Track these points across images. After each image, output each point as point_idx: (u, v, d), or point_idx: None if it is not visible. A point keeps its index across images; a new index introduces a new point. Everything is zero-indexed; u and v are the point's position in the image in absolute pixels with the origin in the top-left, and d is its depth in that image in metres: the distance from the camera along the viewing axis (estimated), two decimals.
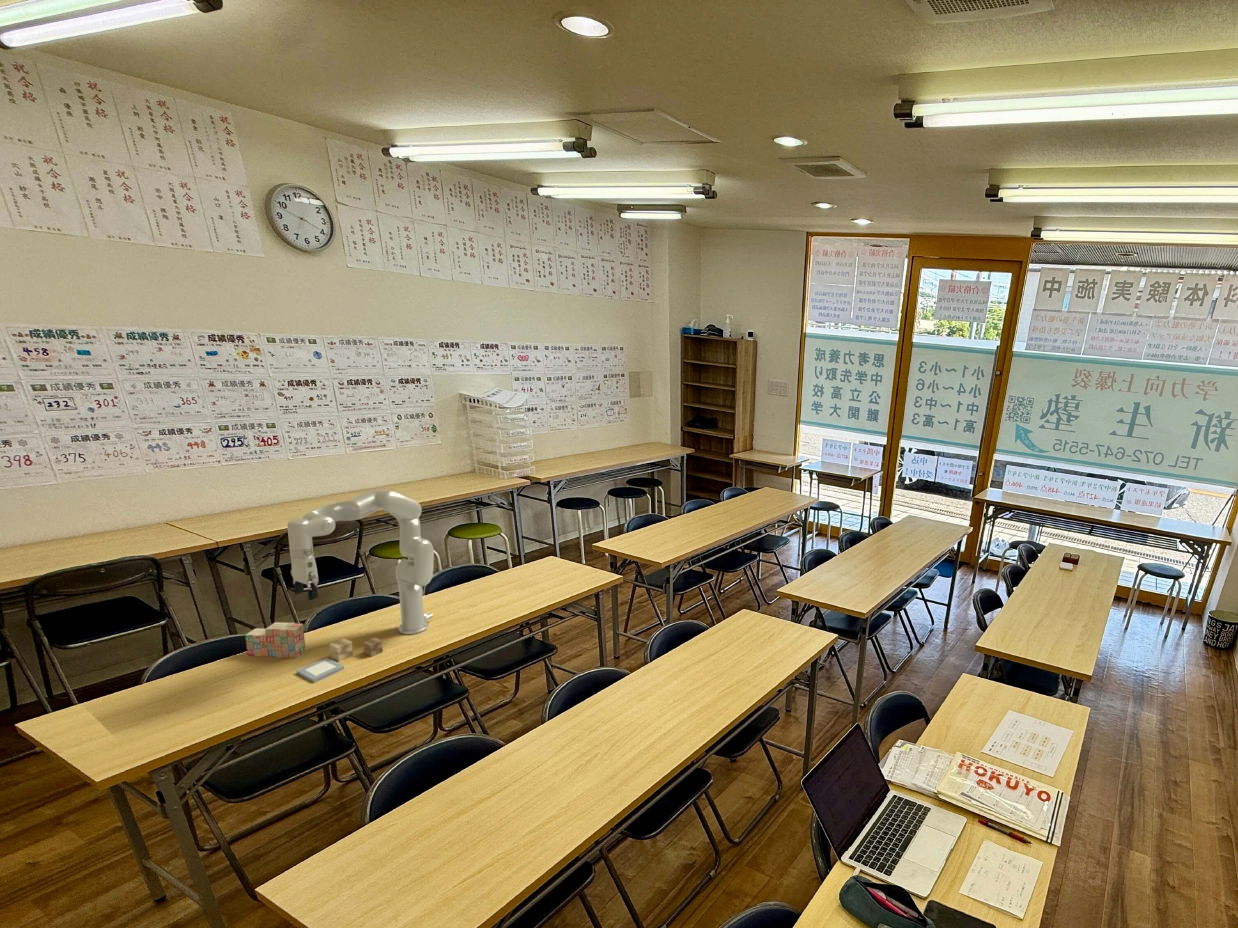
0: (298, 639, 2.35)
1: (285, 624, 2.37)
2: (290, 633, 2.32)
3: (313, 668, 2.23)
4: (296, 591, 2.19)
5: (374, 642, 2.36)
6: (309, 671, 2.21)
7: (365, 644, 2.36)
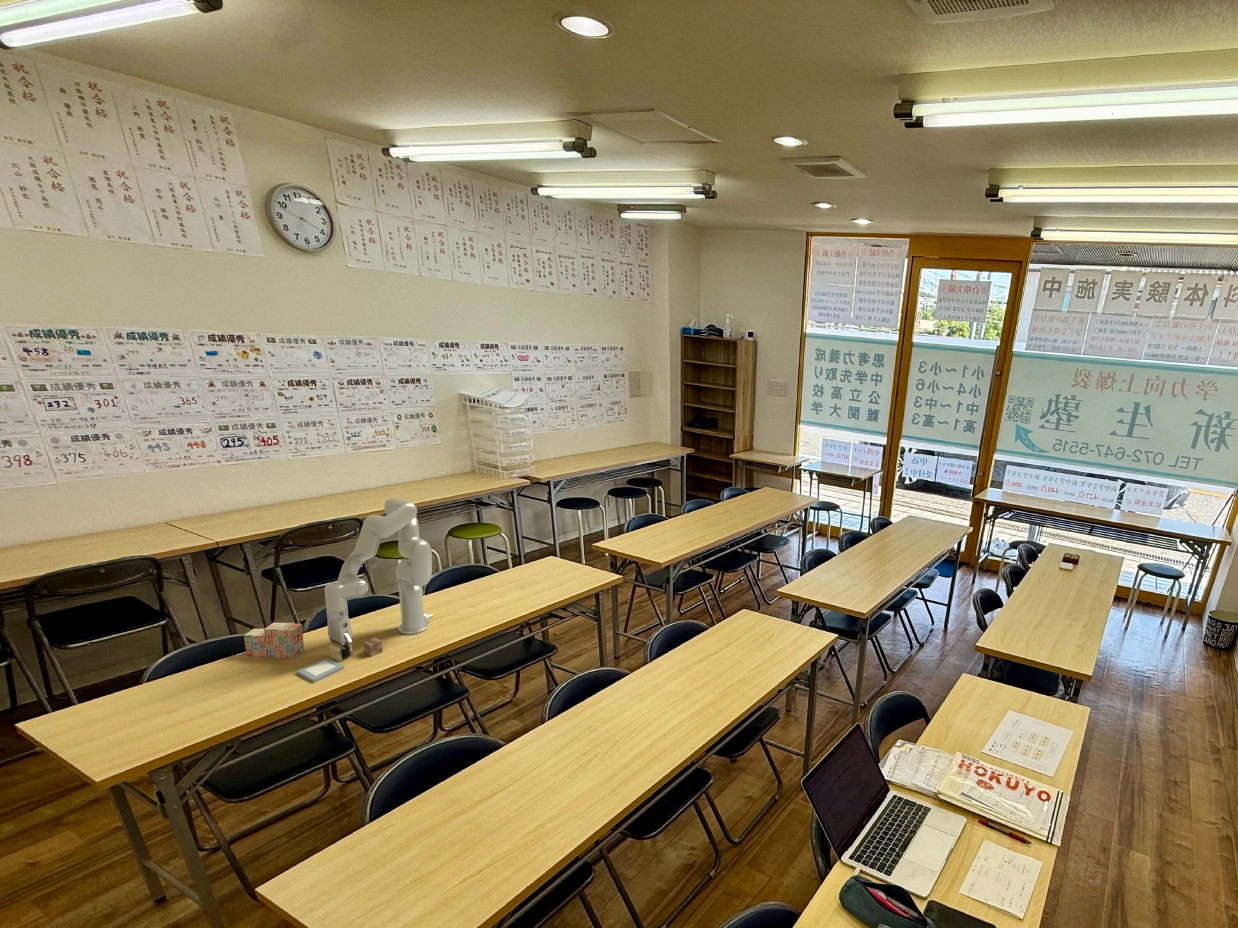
0: (297, 639, 2.35)
1: (284, 624, 2.37)
2: (288, 633, 2.32)
3: (313, 668, 2.23)
4: None
5: (374, 642, 2.36)
6: (309, 671, 2.21)
7: (365, 644, 2.36)
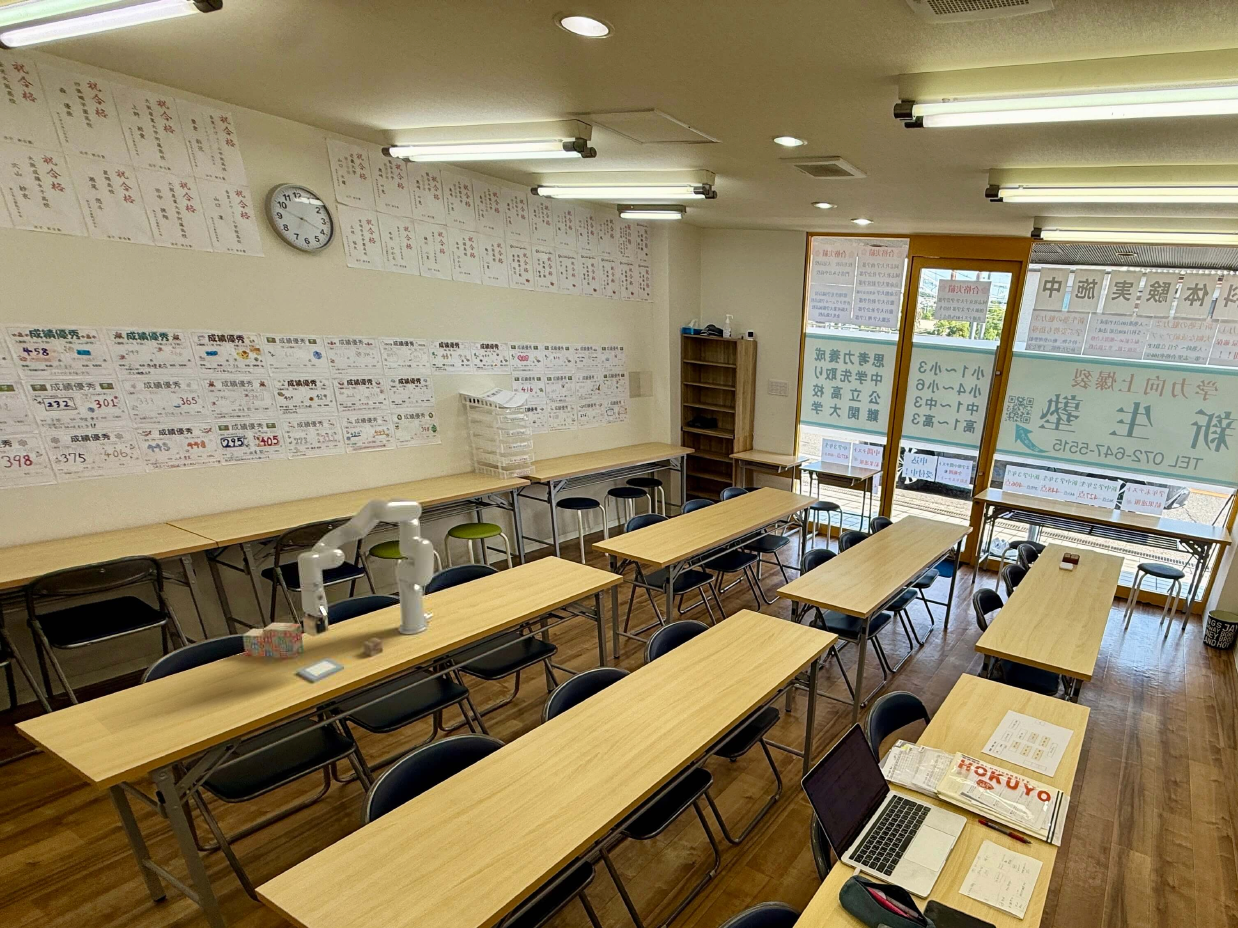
0: (296, 639, 2.35)
1: (283, 624, 2.37)
2: (288, 633, 2.32)
3: (313, 668, 2.23)
4: None
5: (374, 642, 2.36)
6: (309, 671, 2.21)
7: (365, 644, 2.36)
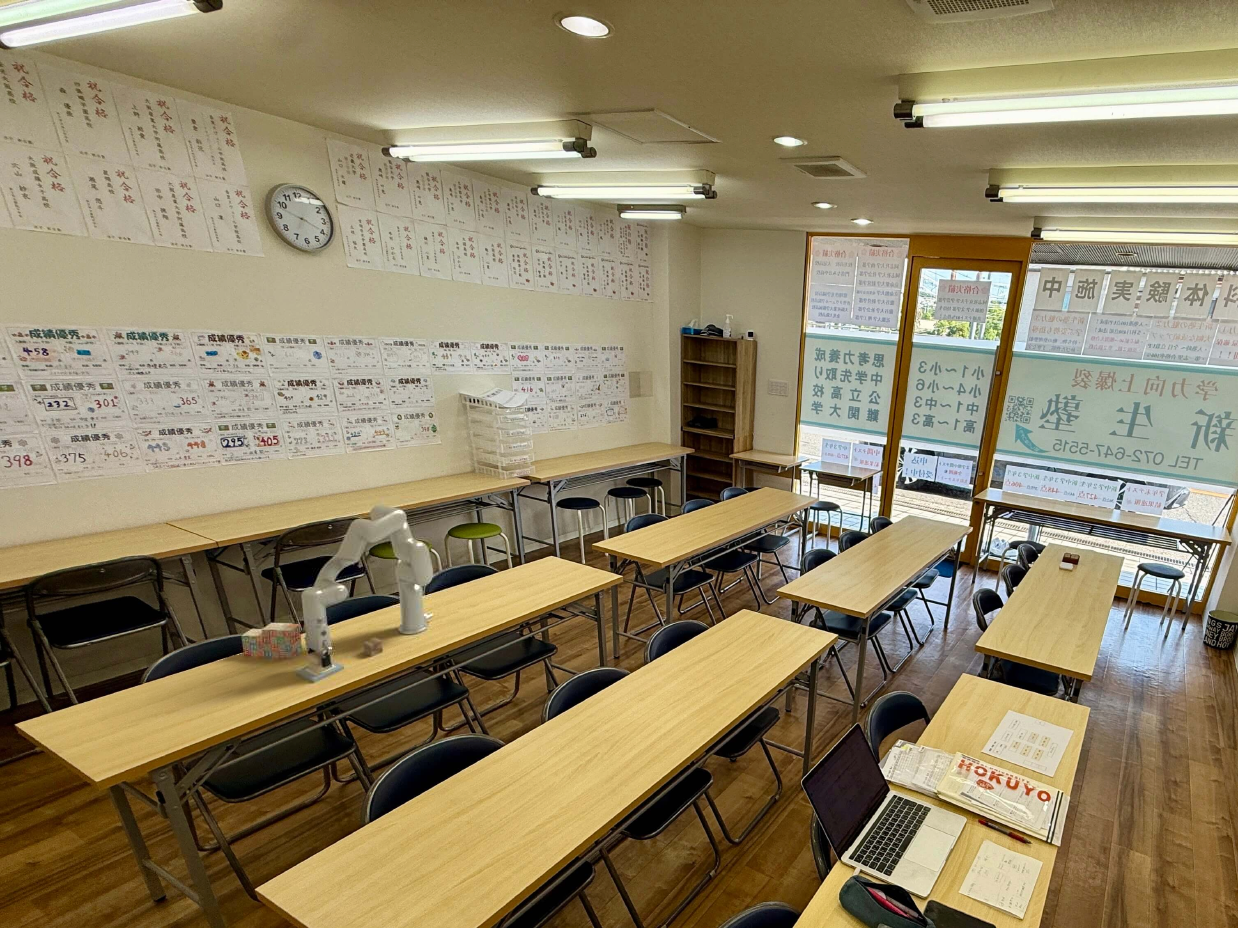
0: (295, 639, 2.35)
1: (281, 624, 2.36)
2: (286, 634, 2.32)
3: None
4: None
5: (374, 642, 2.36)
6: (309, 671, 2.21)
7: (365, 644, 2.36)
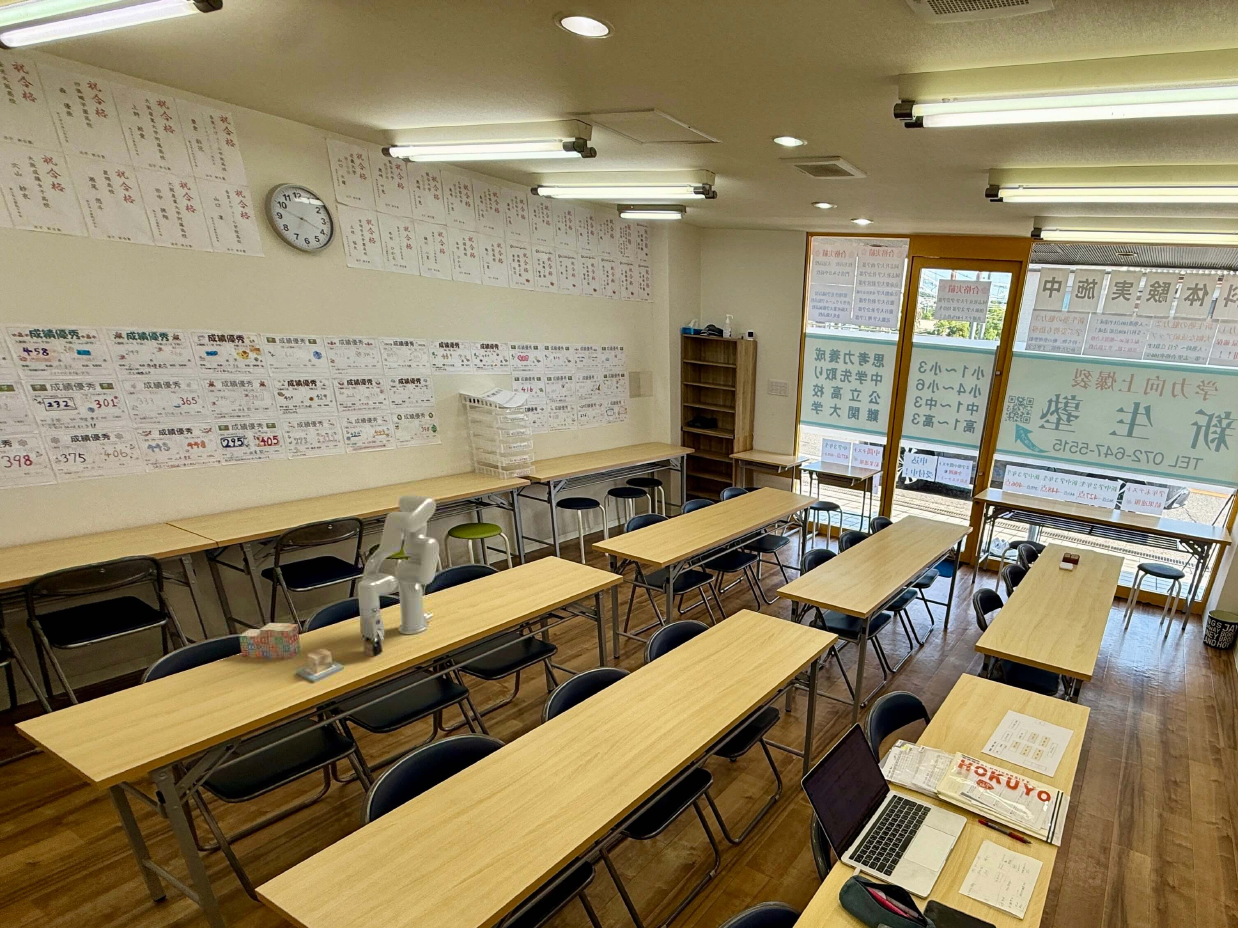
0: (293, 639, 2.35)
1: (280, 625, 2.36)
2: (284, 634, 2.32)
3: None
4: None
5: None
6: (309, 671, 2.21)
7: (365, 644, 2.36)
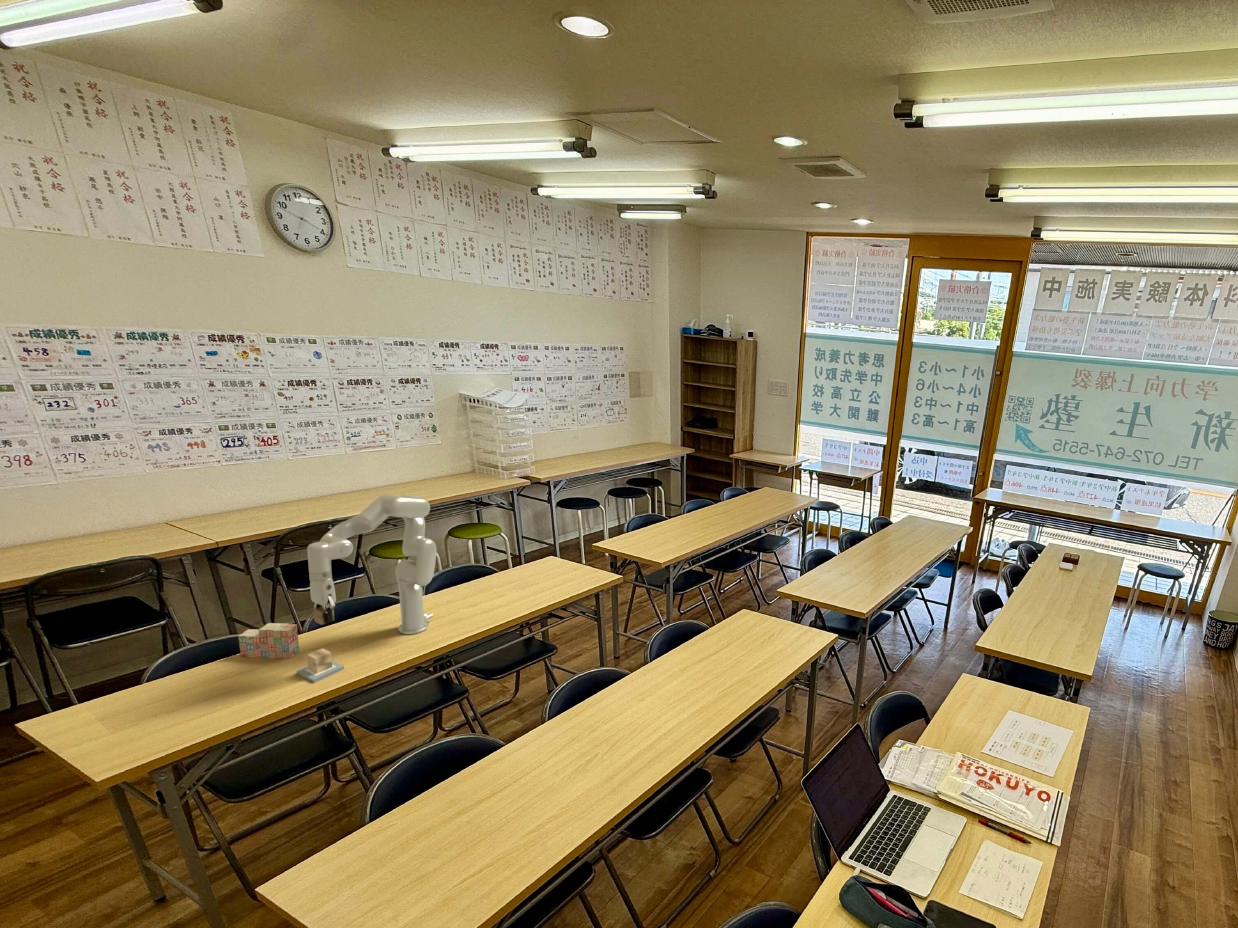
0: (292, 640, 2.34)
1: (278, 625, 2.36)
2: (283, 634, 2.32)
3: None
4: None
5: None
6: (309, 671, 2.21)
7: (315, 611, 2.20)
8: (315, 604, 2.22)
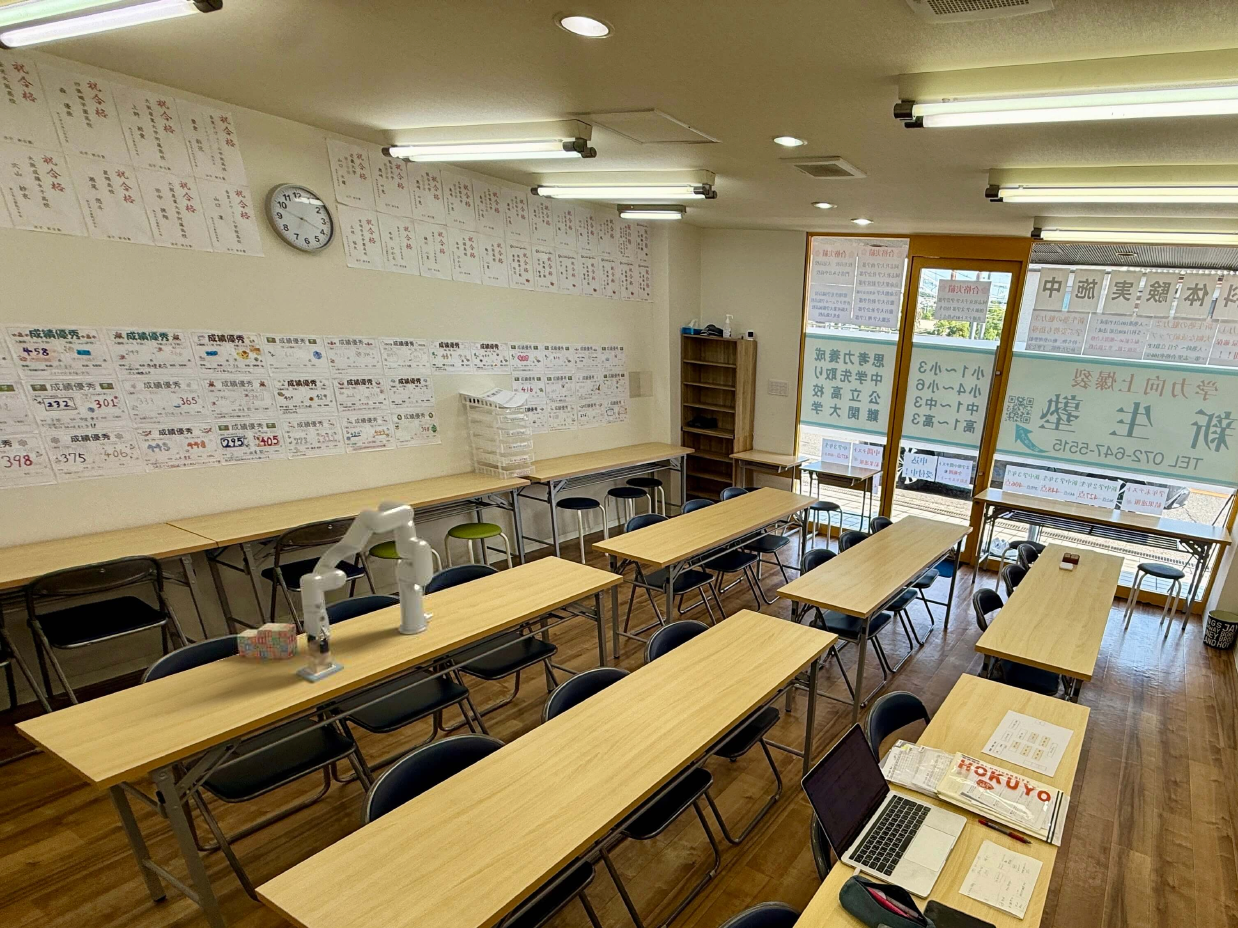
0: (290, 640, 2.34)
1: (277, 625, 2.36)
2: (282, 634, 2.32)
3: None
4: None
5: (319, 642, 2.21)
6: (309, 671, 2.21)
7: (309, 644, 2.20)
8: (307, 633, 2.22)
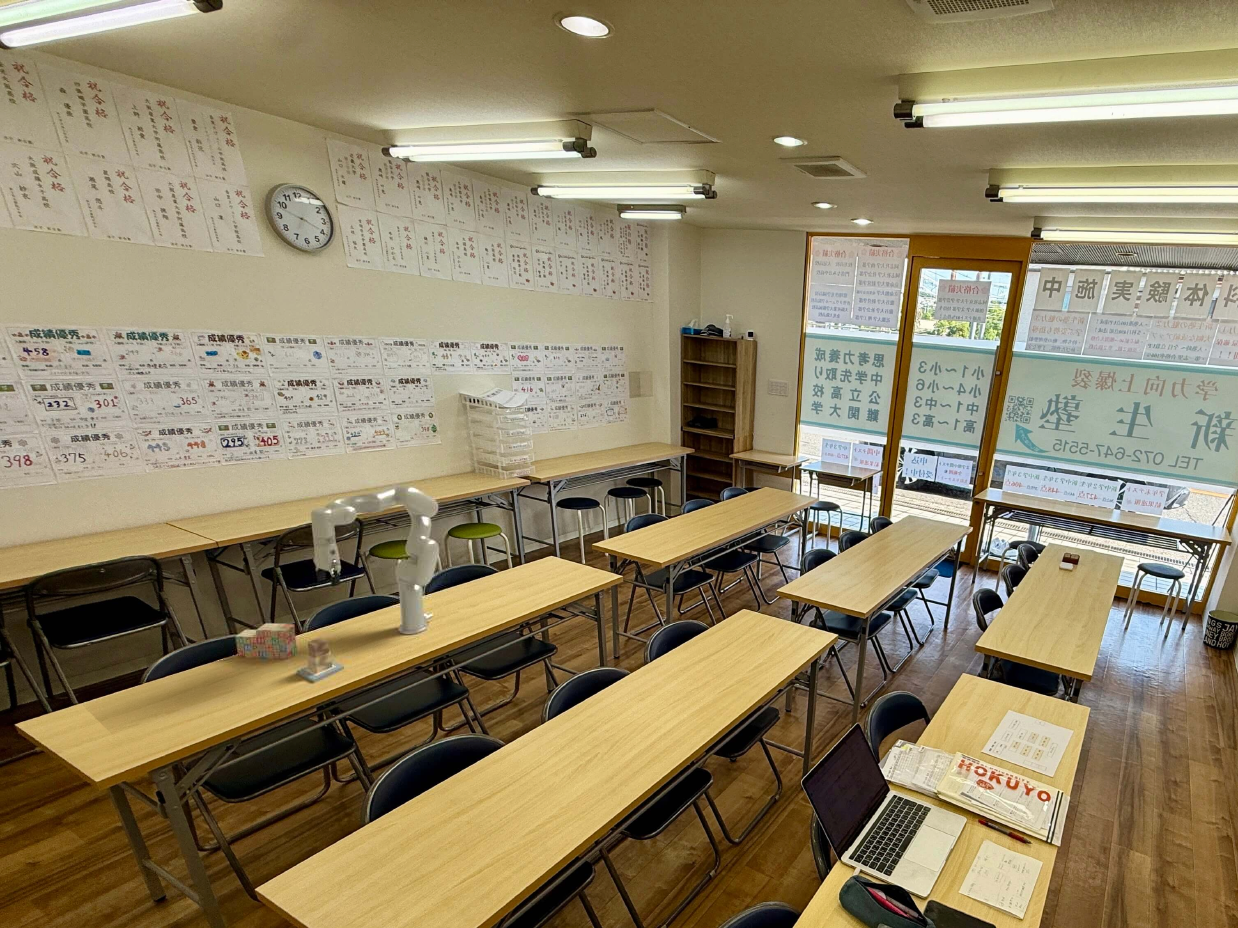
0: (289, 640, 2.34)
1: (276, 625, 2.36)
2: (281, 634, 2.32)
3: None
4: (319, 578, 2.25)
5: (319, 642, 2.21)
6: (309, 671, 2.21)
7: (309, 644, 2.20)
8: (317, 567, 2.24)
